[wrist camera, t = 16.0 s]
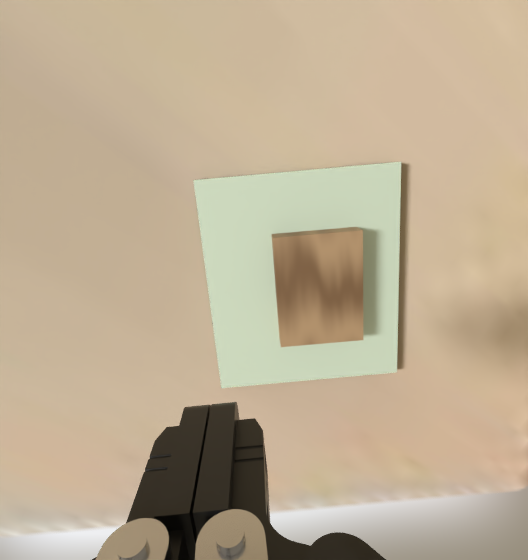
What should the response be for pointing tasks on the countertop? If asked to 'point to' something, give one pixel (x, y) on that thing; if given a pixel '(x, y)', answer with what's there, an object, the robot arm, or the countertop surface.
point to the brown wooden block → (319, 286)
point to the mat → (261, 279)
